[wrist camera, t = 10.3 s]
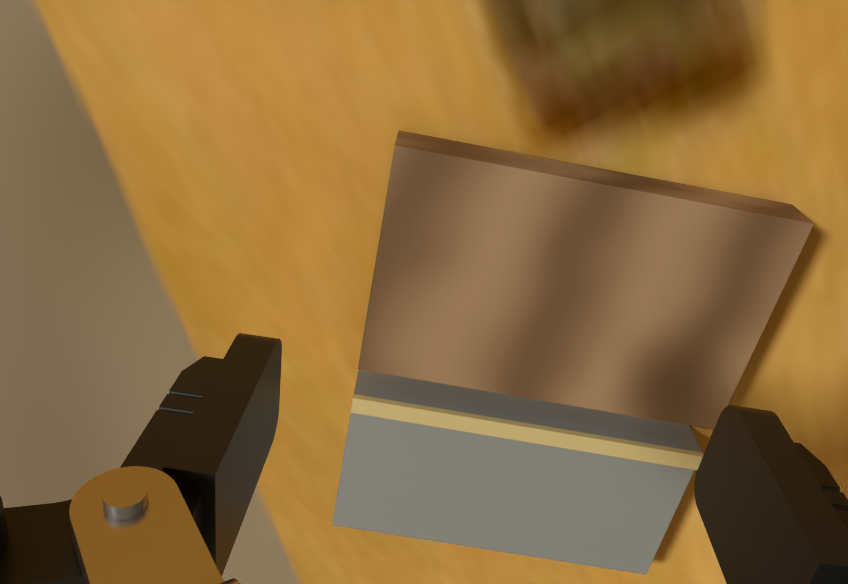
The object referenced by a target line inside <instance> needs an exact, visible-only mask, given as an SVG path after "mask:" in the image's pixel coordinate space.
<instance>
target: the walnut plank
mask: <svg viewBox="0 0 848 584" xmlns="http://www.w3.org/2000/svg"><path fill="white" fill-rule="evenodd" d="M813 225H814V223H813V222H811V221H810V220H809V219H808V218H807V217H806V216H804V215H803V214H802V213H801V212H800V211H799V210H797V209H796V208H795V207H794V206H793V205H791V204H786V203H780V202H775V201H770V200H764V199H759V198H754V197H749V196H743V195H738V194H733V193H727V192H722V191H717V190H711V189H706V188H701V187H696V186H690V185H685V184H680V183H674V182H669V181H664V180H658V179H653V178H648V177H642V176H637V175H632V174H627V173H621V172H616V171H611V170H605V169H600V168H595V167H589V166H584V165H579V164H574V163H568V162H563V161H558V160H552V159H547V158H542V157H536V156H531V155H526V154H521V153H515V152H510V151H505V150H499V149H494V148H489V147H483V146H478V145H473V144H468V143H462V142H457V141H452V140H446V139H441V138H436V137H430V136H425V135H420V134H414V133H409V132H404V131H398V135H397V139H396V143H395V148H394V154H393V160H392V166H391V172H390V179H389V185H388V191H387V197H386V203H385V209H384V215H383V221H382V227H381V233H380V239H379V245H378V251H377V257H376V263H375V269H374V275H373V281H372V287H371V293H370V299H369V305H368V311H367V318H366V324H365V330H364V336H363V342H362V348H361V354H360V360H359V366H358V369H360V370H366V371H372V372H378V373H384V374H390V375H396V376H401V377H407V378H413V379H419V380H425V381H431V382H437V383H443V384H448V385H454V386H460V387H466V388H472V389H478V390H484V391H490V392H495V393H501V394H507V395H513V396H519V397H525V398H531V399H537V400H542V401H548V402H554V403H560V404H566V405H572V406H578V407H584V408H589V409H595V410H601V411H607V412H613V413H619V414H625V415H631V416H636V417H642V418H648V419H654V420H660V421H666V422H672V423H678V424H683V425H689V426H695V427H701V428H707V429H713V430H714V428H715V426H716V423H717V421H718V418H719V416H720V414H721V412H722V411H723V409H724V408H725V407H727V406H728V404H729V402H730V400H731V397H732V395H733V393H734V391H735V389H736V387H737V385H738V383H739V381H740V379H741V376H742V374H743V372H744V370H745V368H746V366H747V364H748V362H749V360H750V358H751V355H752V353H753V351H754V349H755V347H756V345H757V343H758V341H759V339H760V336H761V334H762V332H763V330H764V328H765V326H766V324H767V322H768V320H769V318H770V315H771V313H772V311H773V309H774V307H775V305H776V303H777V301H778V299H779V297H780V294H781V292H782V290H783V288H784V286H785V284H786V282H787V280H788V278H789V276H790V273H791V271H792V269H793V267H794V265H795V263H796V261H797V259H798V257H799V255H800V252H801V250H802V248H803V246H804V244H805V242H806V240H807V238H808V236H809V234H810V231H811V229H812V227H813Z"/></svg>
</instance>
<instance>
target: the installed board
mask: <svg viewBox="0 0 848 584" xmlns="http://www.w3.org/2000/svg"><path fill="white" fill-rule="evenodd" d="M702 458H703V452H702V450H701V448H700V446H699V444H698V442H697V440H696V438H695V436H694V434H693V431H692V429H691V427H690V426H689V425H683V424H678V423H672V422H666V421H660V420H654V419H648V418H642V417H636V416H631V415H625V414H619V413H613V412H607V411H601V410H595V409H589V408H584V407H578V406H572V405H566V404H560V403H554V402H548V401H542V400H537V399H531V398H525V397H519V396H513V395H507V394H501V393H495V392H490V391H484V390H478V389H472V388H466V387H460V386H454V385H448V384H443V383H437V382H431V381H425V380H419V379H413V378H407V377H401V376H396V375H390V374H384V373H378V372H372V371H366V370H360V369H359V372H358V377H357V382H356V386H355V391H354V396H353V402H352V408H351V415H350V421H349V427H348V433H347V439H346V445H345V451H344V457H343V463H342V469H341V475H340V481H339V487H338V493H337V499H336V505H335V511H334V517H333V523H332V525H335V526H342V527H348V528H354V529H361V530H367V531H373V532H380V533H386V534H392V535H399V536H405V537H411V538H418V539H424V540H430V541H437V542H443V543H449V544H455V545H462V546H468V547H474V548H481V549H487V550H493V551H500V552H506V553H512V554H519V555H525V556H531V557H538V558H544V559H550V560H557V561H563V562H569V563H576V564H582V565H588V566H595V567H601V568H607V569H614V570H620V571H626V572H632V573H639V574H645V575H646V574H647V572H648V569H649V567H650V565H651V563H652V561H653V559H654V557H655V554H656V552H657V550H658V548H659V546H660V544H661V541H662V539H663V537H664V535H665V533H666V531H667V529H668V526H669V524H670V522H671V520H672V518H673V516H674V513H675V511H676V509H677V507H678V505H679V503H680V500H681V498H682V496H683V494H684V492H685V490H686V488H687V485H688V483H689V481H690V479H691V477H692V475H693V472H694V470H698V467H699V465H700V462H701V460H702Z"/></svg>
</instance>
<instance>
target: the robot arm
mask: <svg viewBox="0 0 848 584" xmlns="http://www.w3.org/2000/svg"><path fill="white" fill-rule="evenodd" d="M281 355H282V344H281V340H280V339H276V338H269V337H262V336H256V335H249V334H242V333H239V334H238V335H237V336H236V338H235V339H234V341H233V343H232V345H231V346H230V348H229V350H228V352H227V354H226V355H225V357H224V359H219V358H212V357H205V356H204V357H202V358H201V359H199V360H198V361H196V362H195V363H194V364H192V365H190V366H189V367H187V368H186V369H184V370H183V371H182V372H181V373H180V375H179V376H178V378H177V380H176V381H175V383H174V384H173V386H172V387H171V389H170V392H169V394H167V395H166V397H165V398H164V400H163V401H162V403H161V405H160V407H159V410H157V411H156V412H155V414H154V416H153V417H152V419H151V420H150V422H149V423H148V425H147V426H146V428H145V430H144V431H143V433H142V434H141V436H140V437H139V439H138V441H137V442H136V444H135V445H134V447H133V448H132V450H131V452H130V453H129V454H128V456H127V458H126V459H125V461H124V462H123V464H122V465H121V467H120V468H117V469H113V470H110V471H107V472H104V473H102V474H100V475H98V476H96V477H94V478H92V479H91V480H89V481H88V482H87V483H85V484H84V485H83V486H82V487H81V488H80V489H79V490H78V491H77V492H76V494H75V496H74V497H73V499H71V500H68V501H63V502H57V503H51V504H41V505H31V506H22V507H12V508H3V503H2V499H1V497H0V584H240V583H239V581H237V580H236V579H230V580H228V581H224V580H223V578H222V574H223V572H224V569H225V566H226V564H227V561H228V558H229V555H230V553H231V551H232V548H233V545H234V542H235V540H236V537H237V535H238V532H239V529H240V527H241V524H242V522H243V519H244V516H245V514H246V511H247V508H248V506H249V503H250V500H251V498H252V495H253V493H254V490H255V487H256V485H257V482H258V479H259V477H260V474H261V472H262V469H263V466H264V464H265V461H266V458H267V456H268V453H269V450H270V448H271V445H272V442H273V439H274V435H275V431H276V426H277V421H278V413H279V398H280V377H281ZM839 490H840V487H839V486H838V484H837V483H836V481H835V480H834V478H833V477H832V475H831V474H830V472H829V470H828V469H827V467H826V466H825V465H824V464H823V463H822V462H821V461H820V460H819V459H817V458H816V457H815V456H814V455H813V454H812V453H811V452H810V451H808V450H807V449H806V448H805V447H804V446H803V445H802V444H800V443H794V442H793V441H792V439H791V438H790V436H789V434H788V433H787V431H786V429H785V428H784V426H783V425H782V423H781V421H780V420H779V418H778V417H777V415H776V414H775V413H774V412H772V411H766V410H759V409H752V408H745V407H738V406H731V405H729V406H727V407H725V408H724V409H723V411H722V412H721V414H720V416H719V418H718V421H717V423H716V426H715V428H714V431H713V433H712V435H711V438H710V440H709V443H708V445H707V448H706V450H705V453H704V455H703V458H702V460H701V462H700V465H699V467H698V470H697V473H696V478H695V500H696V505H697V508H698V510H699V513H700V515H701V518H702V521H703V523H704V526H705V528H706V531H707V534H708V536H709V539H710V541H711V544H712V546H713V549H714V552H715V554H716V557H717V559H718V562H719V565H720V567H721V570H722V572H723V575H724V578H725V580H726V583H727V584H848V500H847V498H846V497H845V495H844V494H843V493H842V492H840V491H839Z"/></svg>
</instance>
